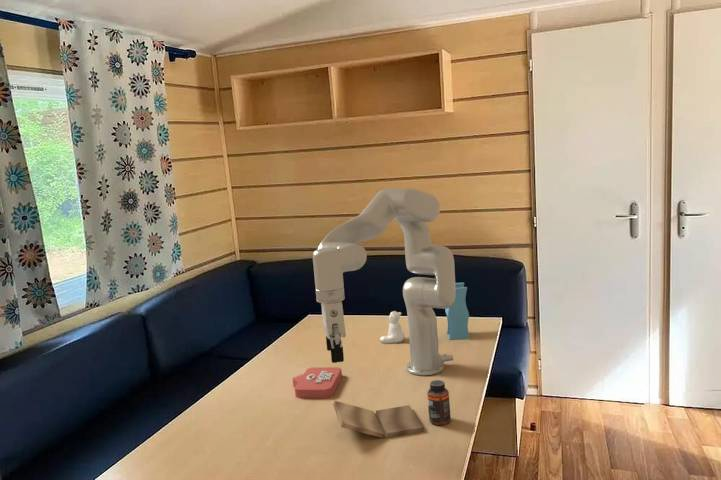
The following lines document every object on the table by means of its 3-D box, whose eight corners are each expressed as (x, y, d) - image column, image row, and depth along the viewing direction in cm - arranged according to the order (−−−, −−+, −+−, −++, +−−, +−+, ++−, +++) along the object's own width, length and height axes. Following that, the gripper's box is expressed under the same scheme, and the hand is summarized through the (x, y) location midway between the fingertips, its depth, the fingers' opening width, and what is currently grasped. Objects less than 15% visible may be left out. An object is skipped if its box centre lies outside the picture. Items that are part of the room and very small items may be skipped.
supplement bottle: (452, 416, 170) (450, 378, 168) (448, 427, 164) (446, 388, 162) (431, 415, 172) (429, 377, 170) (427, 425, 166) (424, 386, 164)
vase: (470, 338, 230) (467, 287, 226) (449, 340, 230) (446, 289, 226) (466, 331, 237) (464, 282, 234) (446, 333, 238) (443, 283, 234)
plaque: (299, 365, 208) (342, 365, 205) (301, 376, 208) (343, 376, 206) (284, 387, 191) (330, 387, 188) (285, 399, 191) (331, 399, 188)
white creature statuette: (392, 335, 241) (389, 306, 239) (410, 338, 236) (408, 308, 234) (378, 343, 233) (376, 313, 231) (397, 346, 228) (395, 315, 226)
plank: (372, 414, 175) (373, 411, 174) (382, 438, 161) (384, 433, 161) (333, 404, 172) (334, 400, 172) (340, 427, 158) (342, 422, 158)
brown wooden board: (409, 408, 177) (409, 405, 176) (423, 431, 163) (422, 427, 163) (373, 414, 175) (373, 411, 174) (384, 438, 161) (383, 433, 161)
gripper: (349, 300, 153) (354, 365, 156) (339, 285, 170) (344, 343, 173) (319, 304, 152) (325, 368, 155) (312, 288, 169) (318, 347, 172)
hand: (335, 355), depth 164 cm, fingers open, 9 cm apart
